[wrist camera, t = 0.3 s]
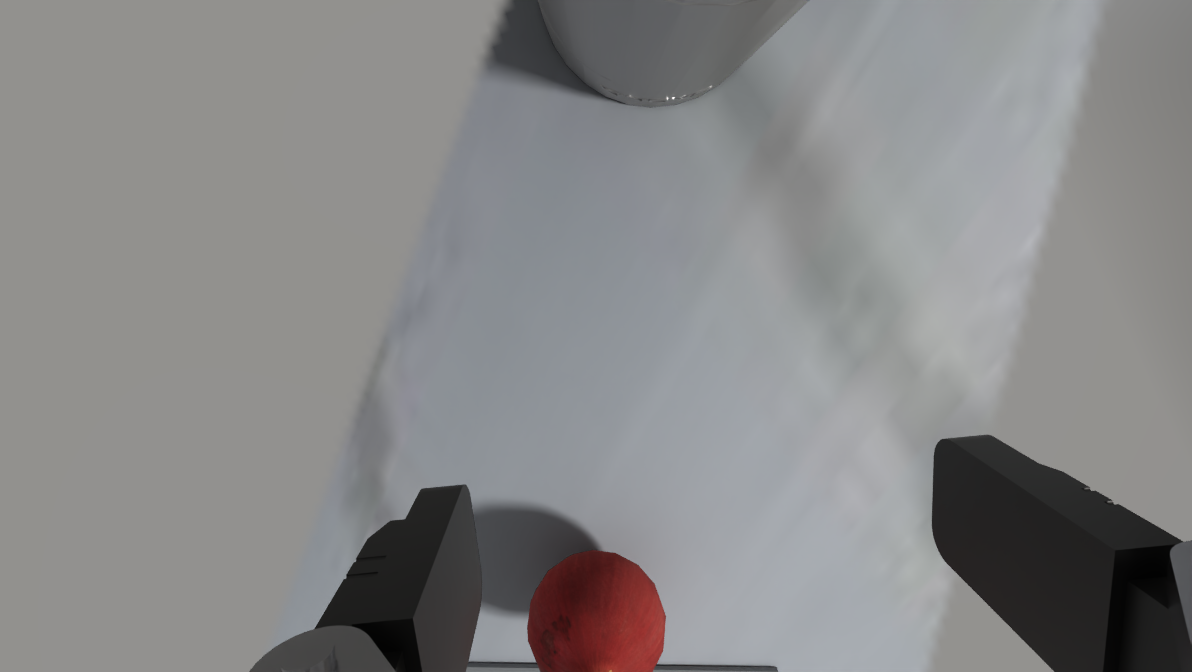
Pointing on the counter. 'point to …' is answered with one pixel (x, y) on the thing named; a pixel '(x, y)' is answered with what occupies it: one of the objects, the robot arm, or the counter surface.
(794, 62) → the counter surface
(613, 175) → the counter surface
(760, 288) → the counter surface
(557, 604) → the onion
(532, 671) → the mat
